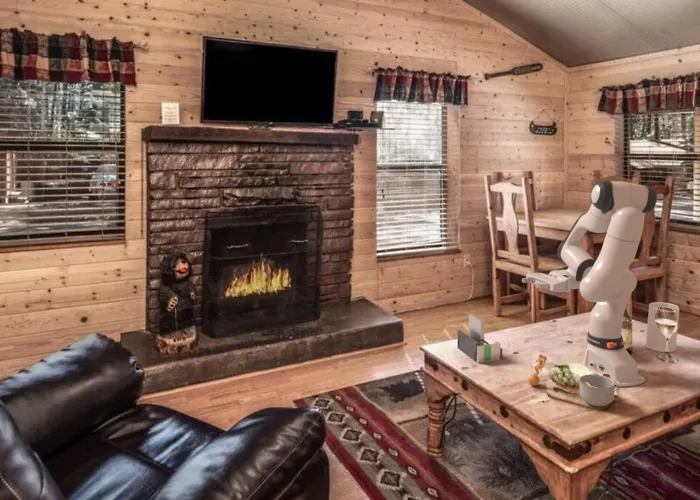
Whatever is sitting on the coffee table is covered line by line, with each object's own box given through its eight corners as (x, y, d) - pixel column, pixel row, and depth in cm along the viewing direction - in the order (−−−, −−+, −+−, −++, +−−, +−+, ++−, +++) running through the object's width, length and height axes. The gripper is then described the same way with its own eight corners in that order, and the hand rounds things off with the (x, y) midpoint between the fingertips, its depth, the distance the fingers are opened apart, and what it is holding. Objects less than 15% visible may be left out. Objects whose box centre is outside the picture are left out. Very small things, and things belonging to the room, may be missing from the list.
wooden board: (489, 356, 210) (489, 323, 207) (485, 357, 209) (486, 324, 207) (471, 344, 223) (472, 313, 221) (468, 344, 223) (468, 313, 220)
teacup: (611, 413, 167) (612, 390, 166) (575, 405, 173) (576, 382, 172) (616, 395, 179) (618, 374, 177) (582, 388, 185) (583, 367, 183)
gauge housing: (504, 359, 212) (505, 340, 210) (478, 363, 208) (478, 344, 207) (482, 344, 228) (482, 327, 227) (457, 347, 225) (457, 330, 224)
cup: (650, 341, 227) (654, 300, 224) (679, 347, 219) (683, 305, 216) (641, 348, 220) (644, 306, 216) (670, 355, 212) (675, 311, 208)
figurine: (526, 380, 193) (527, 349, 190) (543, 380, 192) (544, 350, 189) (529, 390, 185) (531, 358, 182) (547, 391, 184) (549, 359, 181)
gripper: (542, 268, 233) (515, 270, 229) (573, 278, 213) (544, 281, 210) (542, 282, 234) (515, 284, 230) (573, 293, 215) (544, 296, 211)
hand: (529, 283), depth 220 cm, fingers open, 8 cm apart
